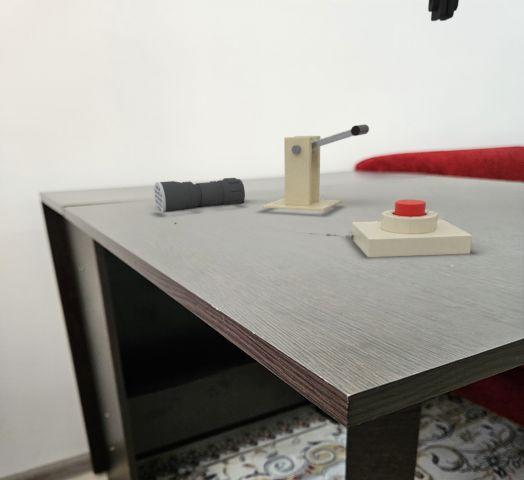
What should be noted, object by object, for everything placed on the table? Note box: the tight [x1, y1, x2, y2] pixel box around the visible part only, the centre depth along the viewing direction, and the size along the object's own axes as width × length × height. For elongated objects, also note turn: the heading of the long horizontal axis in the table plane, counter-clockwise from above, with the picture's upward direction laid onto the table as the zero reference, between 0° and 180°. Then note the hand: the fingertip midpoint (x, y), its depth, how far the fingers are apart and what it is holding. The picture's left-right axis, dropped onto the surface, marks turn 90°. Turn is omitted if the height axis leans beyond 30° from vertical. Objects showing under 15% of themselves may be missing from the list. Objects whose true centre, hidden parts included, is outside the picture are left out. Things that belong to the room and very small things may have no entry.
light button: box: [394, 199, 427, 217], centre depth 63 cm, size 4×4×2 cm
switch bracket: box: [261, 135, 342, 212], centre depth 88 cm, size 11×9×12 cm
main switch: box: [312, 123, 370, 154], centre depth 84 cm, size 12×5×2 cm, turn 64°
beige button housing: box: [350, 208, 473, 258], centre depth 64 cm, size 12×10×4 cm
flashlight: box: [153, 177, 246, 213], centre depth 91 cm, size 15×5×5 cm, turn 116°
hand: (441, 18), depth 61 cm, fingers closed
